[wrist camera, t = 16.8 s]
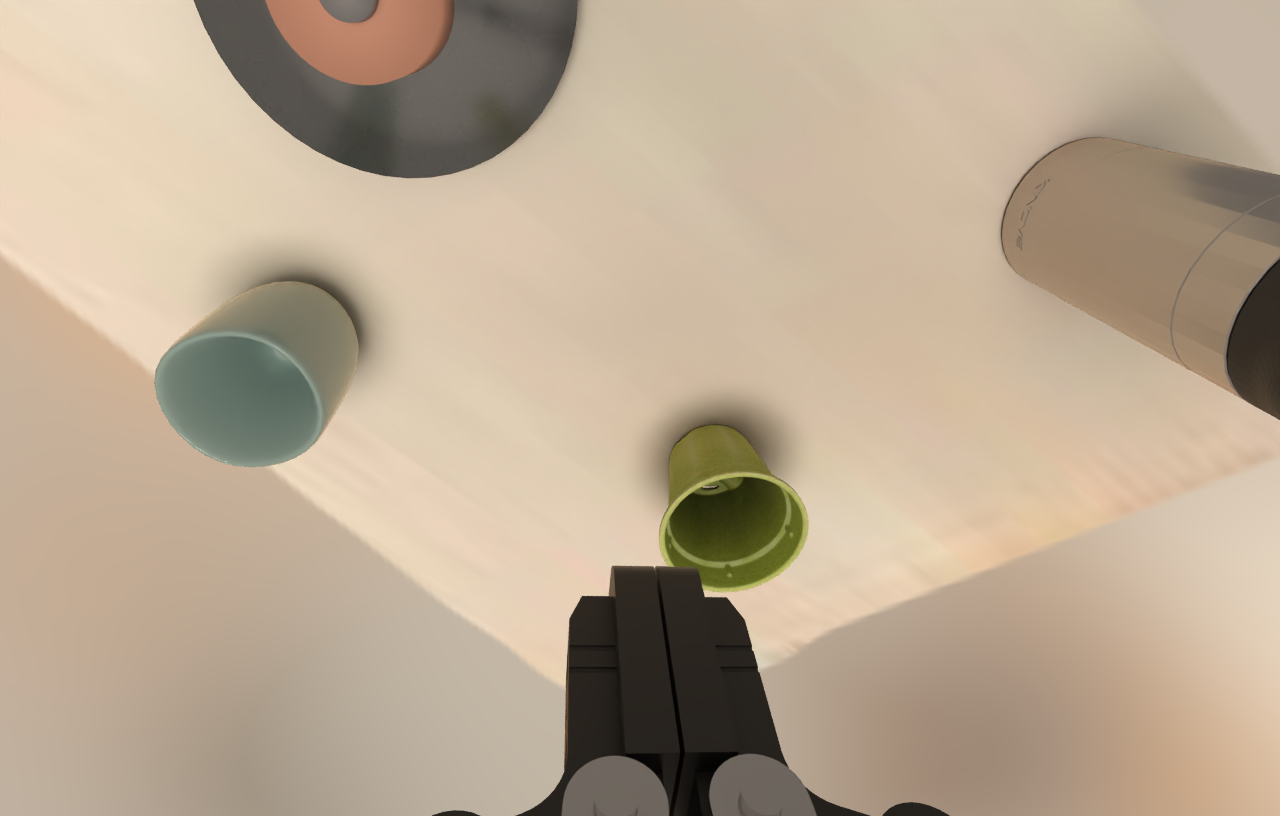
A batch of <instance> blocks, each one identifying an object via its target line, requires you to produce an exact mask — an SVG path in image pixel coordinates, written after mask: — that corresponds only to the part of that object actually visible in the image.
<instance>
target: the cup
mask: <svg viewBox="0 0 1280 816" xmlns="http://www.w3.org/2000/svg"><path fill="white" fill-rule="evenodd" d="M358 357H359V343H358V338H357V334H356V330H355V327H354V325H353V322H352V320H351V318H350V316H349V315H348V313H347V312H346V310H345V309H344V308H343V306H342V305H341V304H340V303H339V302H338V301H337V300H336V299H335V298H334V297H333V296H331V295H330V294H329V293H328V292H326V291H324V290H323V289H321V288H319V287H317V286H315V285H311V284H308V283H305V282H298V281H278V282H272V283H268V284H263V285H260V286H257V287H255V288H252V289H250V290H247V291H245V292H243V293H241V294H239V295H237V296H235V297H233V298H232V299H230V300H229V301H227V302H226V303H224V304H223V305H221V306H220V307H218V308H217V309H215V310H214V311H213V312H211V313H210V314H208V315H207V316H206V317H205V318H203V319H202V320H201V321H199V322H198V323H197V324H196V325H195V326H193V327H192V328H191V329H190V330H188V331H187V332H186V333H185V334H184V335H182V336H181V337H180V338H179V339H178V340H177V341H176V342H175V343H174V344H173V345H172V346H171V347H170V348H169V349H168V351H167V352H166V353H165V354H164V355H163V356H162V358H161V360H160V362H159V364H158V367H157V369H156V373H155V383H154V384H155V389H156V395H157V399H158V401H159V404H160V406H161V409H162V411H163V413H164V414H165V416H166V418H167V419H168V421H169V423H170V424H171V425H172V427H173V428H174V429H175V430H176V431H177V432H178V434H179V435H180V436H181V437H182V438H183V439H184V440H186V441H187V442H188V443H189V444H190V445H192V447H194V448H195V449H197V450H198V451H200V452H201V453H203V454H204V455H206V456H208V457H210V458H213V459H215V460H217V461H220V462H222V463H227V464H231V465H234V466H244V467H261V466H270V465H275V464H280V463H283V462H286V461H288V460H291V459H293V458H296V457H297V456H299V455H301V454H302V453H304V452H306V451H307V450H308V449H309V448H310V447H311V446H312V445H313V444H315V443H316V442H317V441H318V440H319V438H320V437H321V436H322V434H323V433H324V431H325V429H326V428H327V426H328V424H329V423H330V421H331V419H332V418H333V416H334V414H335V413H336V411H337V409H338V408H339V406H340V404H341V402H342V401H343V399H344V397H345V395H346V393H347V391H348V389H349V387H350V385H351V383H352V380H353V378H354V375H355V371H356V367H357V363H358Z"/></svg>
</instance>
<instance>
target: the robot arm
mask: <svg viewBox="0 0 1280 816" xmlns="http://www.w3.org/2000/svg"><path fill="white" fill-rule="evenodd" d="M1002 241H1003V248H1004V252H1005V255H1006V257H1007V259H1008V262H1009V264H1010V265H1011V266H1012V267H1013V269H1014V270H1015V271H1016V272H1017V273H1018V274H1020V275H1021V276H1023V277H1024V278H1025V279H1027V280H1029V281H1030V282H1032V283H1034V284H1036V285H1038V286H1039V287H1041V288H1043V289H1045V290H1047V291H1048V292H1050V293H1052V294H1054V295H1056V296H1057V297H1059V298H1061V299H1062V300H1064V301H1066V302H1068V303H1069V304H1071V305H1073V306H1075V307H1077V308H1078V309H1080V310H1082V311H1084V312H1086V313H1087V314H1089V315H1091V316H1093V317H1095V318H1097V319H1098V320H1100V321H1102V322H1104V323H1106V324H1107V325H1109V326H1111V327H1113V328H1115V329H1116V330H1118V331H1120V332H1122V333H1124V334H1125V335H1127V336H1129V337H1131V338H1133V339H1134V340H1136V341H1138V342H1140V343H1142V344H1144V345H1145V346H1147V347H1149V348H1151V349H1153V350H1154V351H1156V352H1158V353H1160V354H1162V355H1163V356H1165V357H1167V358H1169V359H1171V360H1172V361H1174V362H1176V363H1178V364H1180V365H1181V366H1183V367H1185V368H1187V369H1189V370H1191V371H1193V372H1194V373H1196V374H1198V375H1200V376H1202V377H1204V378H1206V379H1207V380H1209V381H1211V382H1213V383H1215V384H1216V385H1218V386H1220V387H1222V388H1224V389H1225V390H1227V391H1229V392H1231V393H1233V394H1234V395H1236V396H1238V397H1240V398H1242V399H1244V400H1245V401H1247V402H1248V403H1250V404H1252V405H1254V406H1255V407H1257V408H1259V409H1261V410H1263V411H1265V412H1266V413H1268V414H1270V415H1272V416H1274V417H1276V418H1277V419H1279V420H1280V175H1277V174H1272V173H1267V172H1263V171H1258V170H1253V169H1249V168H1244V167H1239V166H1235V165H1230V164H1225V163H1221V162H1216V161H1211V160H1207V159H1202V158H1197V157H1193V156H1188V155H1183V154H1179V153H1174V152H1169V151H1164V150H1161V149H1157V148H1152V147H1147V146H1143V145H1138V144H1133V143H1128V142H1124V141H1119V140H1114V139H1108V138H1101V137H1097V138H1086V139H1082V140H1078V141H1075V142H1072V143H1069V144H1067V145H1065V146H1063V147H1061V148H1059V149H1057V150H1055V151H1053V152H1052V153H1050V154H1049V155H1048V156H1046V157H1045V158H1044V159H1043V160H1041V161H1040V162H1039V163H1037V165H1036V166H1035V167H1034V168H1033V169H1032V170H1031V171H1030V172H1029V173H1028V174H1027V175H1026V176H1025V177H1024V179H1023V180H1022V182H1021V183H1020V185H1019V186H1018V187H1017V189H1016V190H1015V192H1014V194H1013V196H1012V198H1011V200H1010V203H1009V205H1008V207H1007V210H1006V214H1005V217H1004V221H1003V231H1002ZM565 711H566V713H565V759H564V774H563V776H562V778H561V780H560V782H559V784H558V785H557V787H556V788H555V790H554V791H553V792H552V793H551V794H550V795H549V796H548V797H547V798H546V799H545V800H544V801H543V802H541V803H540V804H539V805H537V806H535V807H534V808H533V809H530V810H528V811H526V812H524V813H522V814H519V815H517V816H869V815H866V814H863V813H860V812H856V811H853V810H850V809H847V808H843V807H840V806H837V805H835V804H832V803H830V802H827V801H825V800H823V799H822V798H820V797H818V796H817V795H815V794H813V793H812V792H811V791H809V790H808V789H807V788H806V787H805V786H804V785H803V783H802V782H801V780H800V779H799V778H798V777H797V776H796V774H795V773H794V772H793V771H791V770H790V769H789V767H788V765H787V763H786V761H785V759H784V757H783V754H782V751H781V748H780V744H779V741H778V737H777V734H776V730H775V727H774V723H773V719H772V716H771V712H770V709H769V705H768V701H767V698H766V694H765V691H764V687H763V684H762V680H761V677H760V673H759V672H758V666H757V662H756V659H755V655H754V652H753V651H752V644H751V641H750V637H749V634H748V630H747V627H746V623H745V620H744V618H743V617H742V616H741V615H740V613H739V612H738V611H737V610H736V608H735V607H734V606H733V605H732V603H731V602H730V601H729V600H728V598H726V597H704V592H703V588H702V583H701V578H700V574H699V571H698V569H697V567H666V566H656V567H655V569H654V567H653V566H612V569H611V577H610V588H609V596H582V597H581V599H580V601H579V603H578V604H577V606H576V608H575V610H574V612H573V613H572V615H571V617H570V619H569V637H568V654H567V672H566V710H565ZM433 816H479V815H477V814H475V813H472V812H467V811H455V810H454V811H446V812H442V813H438V814H435V815H433ZM883 816H949V815H948V814H946V813H944V812H942V811H941V810H939V809H936V808H934V807H932V806H929V805H925V804H921V803H913V802H909V803H901V804H898V805H895V806H893V807H891V808H890V809H888V810H887V811H886V812H885V813H884V814H883Z"/></svg>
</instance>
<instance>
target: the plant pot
mask: <svg viewBox="0 0 1280 816" xmlns="http://www.w3.org/2000/svg"><path fill="white" fill-rule="evenodd" d="M717 485H719V487H718V488H716V489H708V490H704V489H702V488H701V487H702V486H717ZM807 534H808V515H807V512H806V508H805V506H804V504H803V502H802V500H801V499H800V497H799V496H798V494H797V493H796V492H795V491H794V490H793V489H792V488H791V487H790V486H789V485H788V484H787V483H785V482H784V481H782V480H780V479H779V478H777V477H775V476H774V475H772V474H771V472H770V471H769V470H768V468H767V467H766V465H765V464H764V463H763V461H762V460H761V459H760V457H759V456H758V455H757V453H756V452H755V450H754V449H753V447H752V446H751V445H750V443H749V442H748V441H747V439H746V438H745V437H744V436H743V435H741V434H740V433H739V432H737V431H736V430H735V429H733V428H730V427H727V426H722V425H707V426H703V427H699V428H696V429H694V430H692V431H690V432H689V433H688V434H687V435H686V436H685V437H684V438H683V439H682V440H680V441H679V442H678V443H677V444H676V445H675V446H674V448H673V450H672V452H671V455H670V459H669V506H668V508H667V510H666V512H665V514H664V516H663V519H662V521H661V525H660V530H659V545H660V550H661V554H662V557H663V559H664V561H665V563H666V564H667V566H668V567H697V569H698V571H699V574H700V578H701V583H702V588H703V590H707V591H713V592H736V591H742V590H747V589H750V588H753V587H756V586H759V585H761V584H763V583H766V582H768V581H770V580H771V579H773V578H774V577H776V576H778V575H779V574H780V573H782V572H783V571H784V570H786V569H787V568H788V567H789V566H790V565H791V564H792V562H793V561H794V560H795V559H796V558H797V556H798V555H799V554H800V552H801V550H802V548H803V546H804V544H805V541H806V538H807Z"/></svg>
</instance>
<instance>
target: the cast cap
mask: <svg viewBox="0 0 1280 816" xmlns="http://www.w3.org/2000/svg"><path fill="white" fill-rule="evenodd" d="M266 3H267V6H268V9H269V11H270V14H271V16H272V18H273V20H274V22H275V24H276V26H277V28H278V29H279V31H280V32H281V34H282V36H283V37H284V38H285V40H286V41H287V42H288V44H289V45H290V46H291V47H292V48H293V49H294V50H295V52H296V53H297V54H298V55H299V56H300V57H301V58H303V59H304V60H305V61H306V62H307V63H309V64H310V65H311V66H313V67H314V68H316V69H317V70H318V71H320V72H322V73H324V74H326V75H328V76H329V77H331V78H334V79H337V80H339V81H342V82H346V83H350V84H356V85H378V84H383V83H387V82H390V81H393V80H396V79H399V78H402V77H405V76H408V75H411V74H413V73H416V72H418V71H420V70H422V69H424V68H425V67H427V66H428V65H429V64H431V63H432V62H433V61H434V60H435V59H436V58H437V57H438V56H439V54H440V53H441V51H442V50H443V49H444V47H445V45H446V43H447V41H448V39H449V36H450V33H451V30H452V26H453V21H454V12H455V8H454V0H266Z"/></svg>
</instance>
